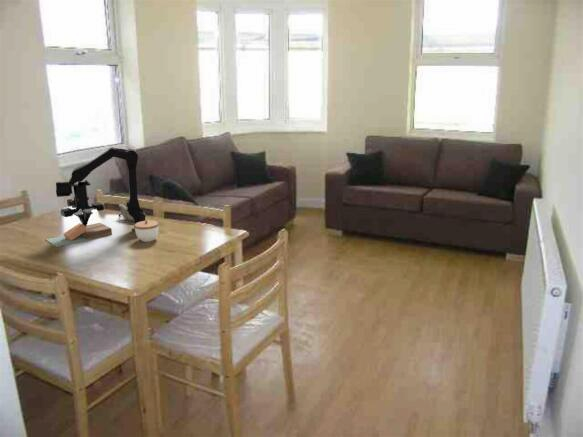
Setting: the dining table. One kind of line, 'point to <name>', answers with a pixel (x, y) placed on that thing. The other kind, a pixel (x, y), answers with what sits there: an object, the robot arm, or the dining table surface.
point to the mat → (64, 240)
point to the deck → (96, 231)
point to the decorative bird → (125, 212)
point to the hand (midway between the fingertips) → (84, 227)
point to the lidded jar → (146, 230)
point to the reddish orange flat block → (75, 232)
